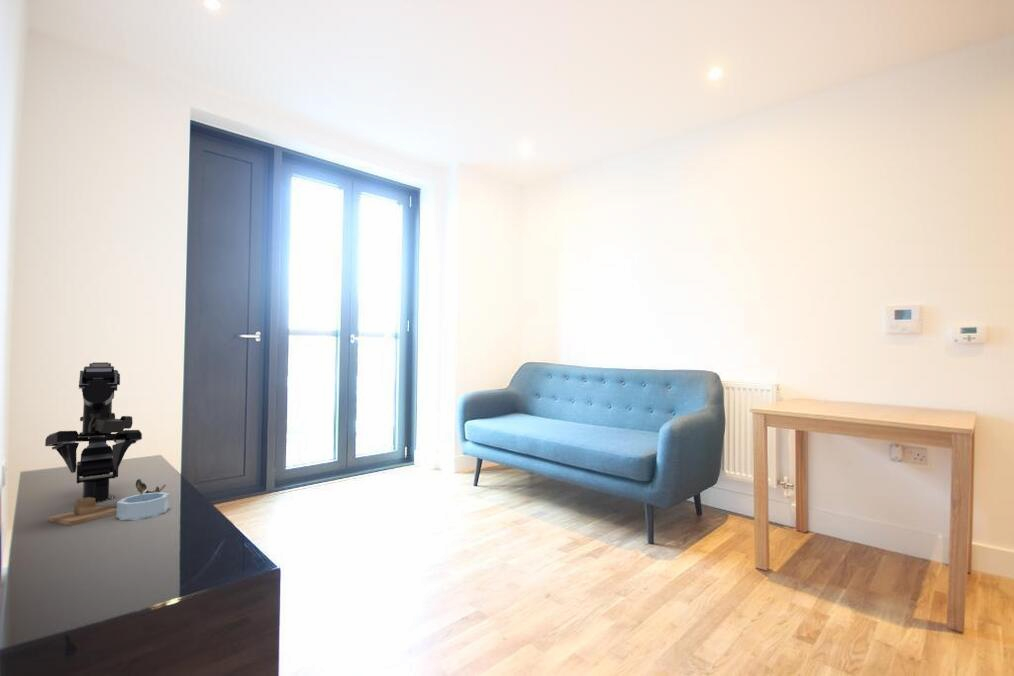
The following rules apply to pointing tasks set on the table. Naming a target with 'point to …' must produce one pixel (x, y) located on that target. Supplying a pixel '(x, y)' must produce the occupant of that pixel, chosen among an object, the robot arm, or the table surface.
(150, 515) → the bowl
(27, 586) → the table surface
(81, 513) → the lid
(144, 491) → the eagle figurine
